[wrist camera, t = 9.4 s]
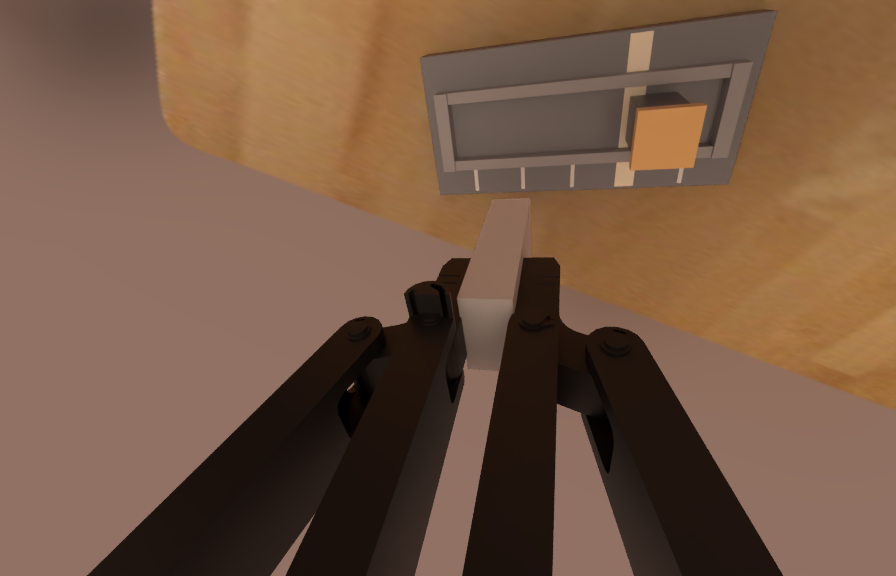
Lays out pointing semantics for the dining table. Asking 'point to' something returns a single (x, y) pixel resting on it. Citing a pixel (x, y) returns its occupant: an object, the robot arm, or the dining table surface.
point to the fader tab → (663, 131)
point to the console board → (589, 104)
